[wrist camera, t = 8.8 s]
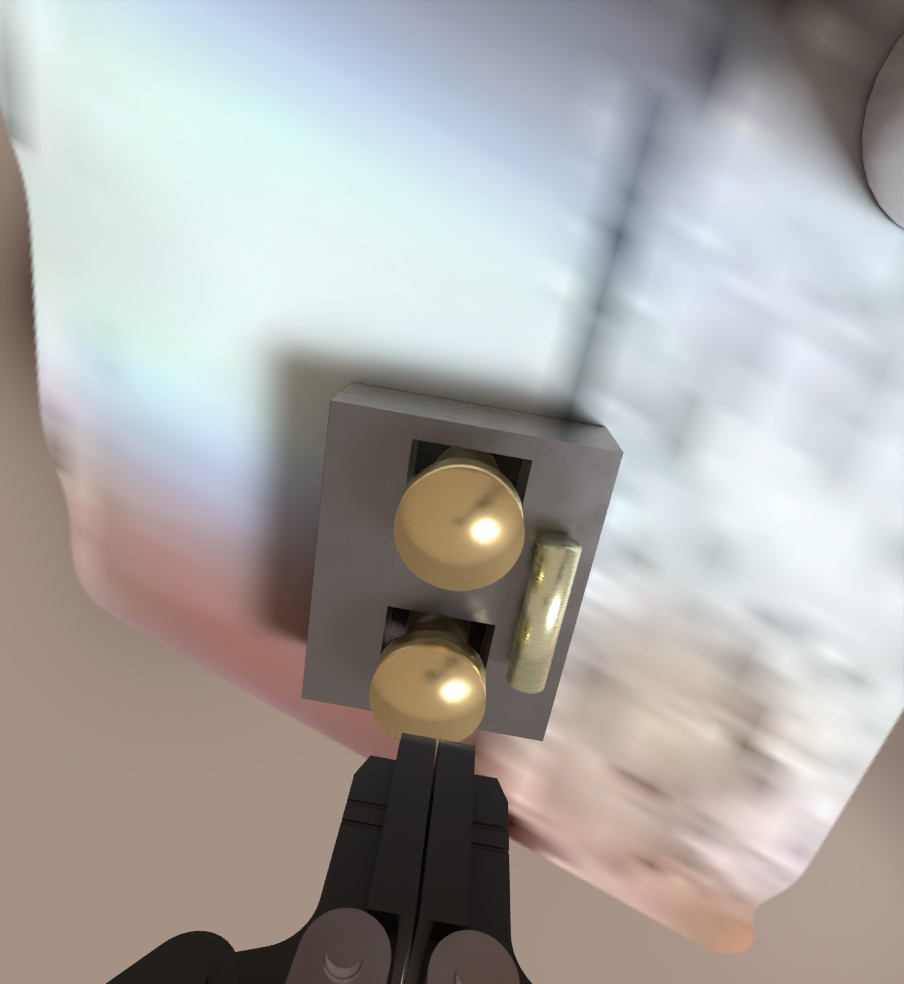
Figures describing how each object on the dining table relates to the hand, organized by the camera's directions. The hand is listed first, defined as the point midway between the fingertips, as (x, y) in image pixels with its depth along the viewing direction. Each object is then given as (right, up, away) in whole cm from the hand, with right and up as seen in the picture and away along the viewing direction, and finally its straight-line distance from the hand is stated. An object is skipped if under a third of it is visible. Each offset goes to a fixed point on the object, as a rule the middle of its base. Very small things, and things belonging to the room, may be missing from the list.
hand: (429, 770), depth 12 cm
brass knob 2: (0, -1, +20) cm, 20 cm away
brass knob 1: (+1, +7, +18) cm, 19 cm away
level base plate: (0, +3, +19) cm, 19 cm away
